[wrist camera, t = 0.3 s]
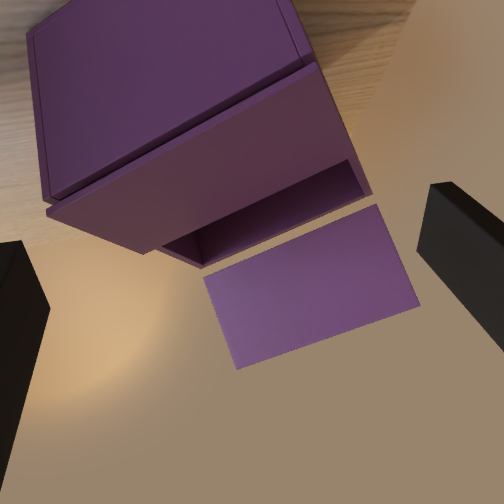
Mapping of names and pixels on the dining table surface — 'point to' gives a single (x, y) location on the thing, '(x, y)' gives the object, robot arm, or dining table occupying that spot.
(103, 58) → the cardboard box
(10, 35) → the dining table surface
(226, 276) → the flap
